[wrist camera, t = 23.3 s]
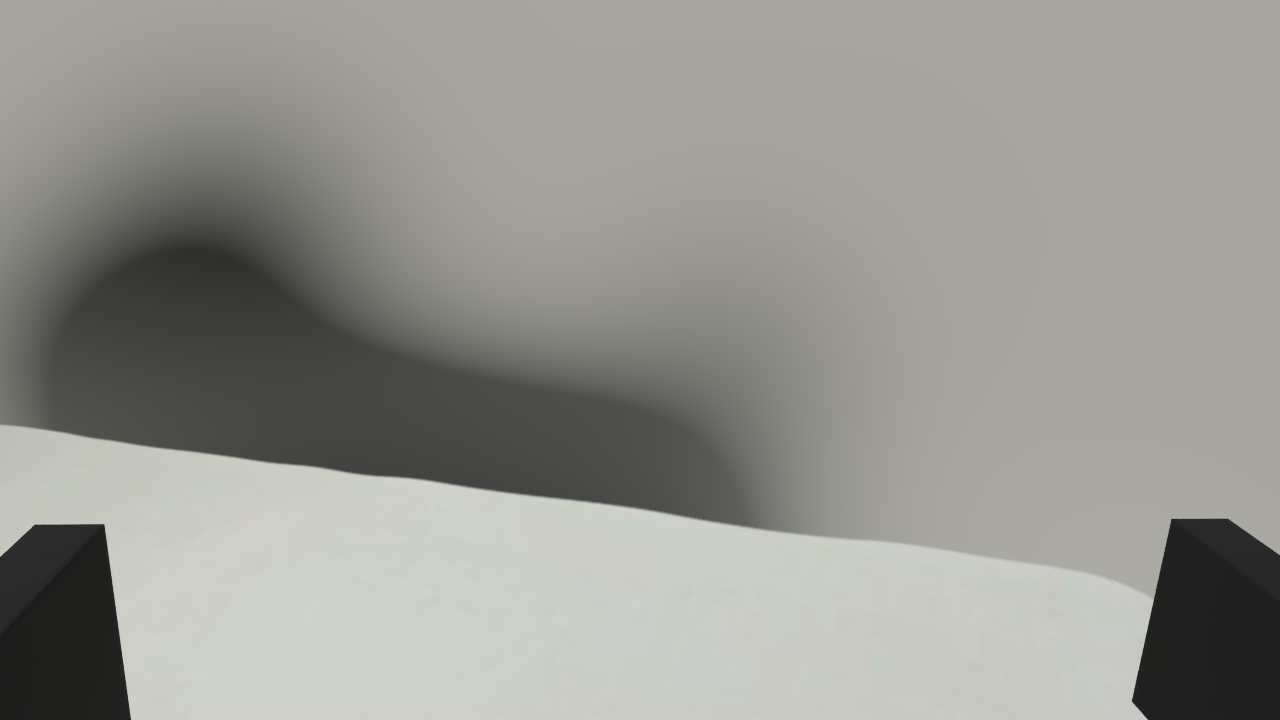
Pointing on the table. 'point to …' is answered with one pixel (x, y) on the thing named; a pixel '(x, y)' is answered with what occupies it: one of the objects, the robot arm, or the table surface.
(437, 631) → the table surface
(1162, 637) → the robot arm
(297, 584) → the table surface
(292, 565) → the table surface
